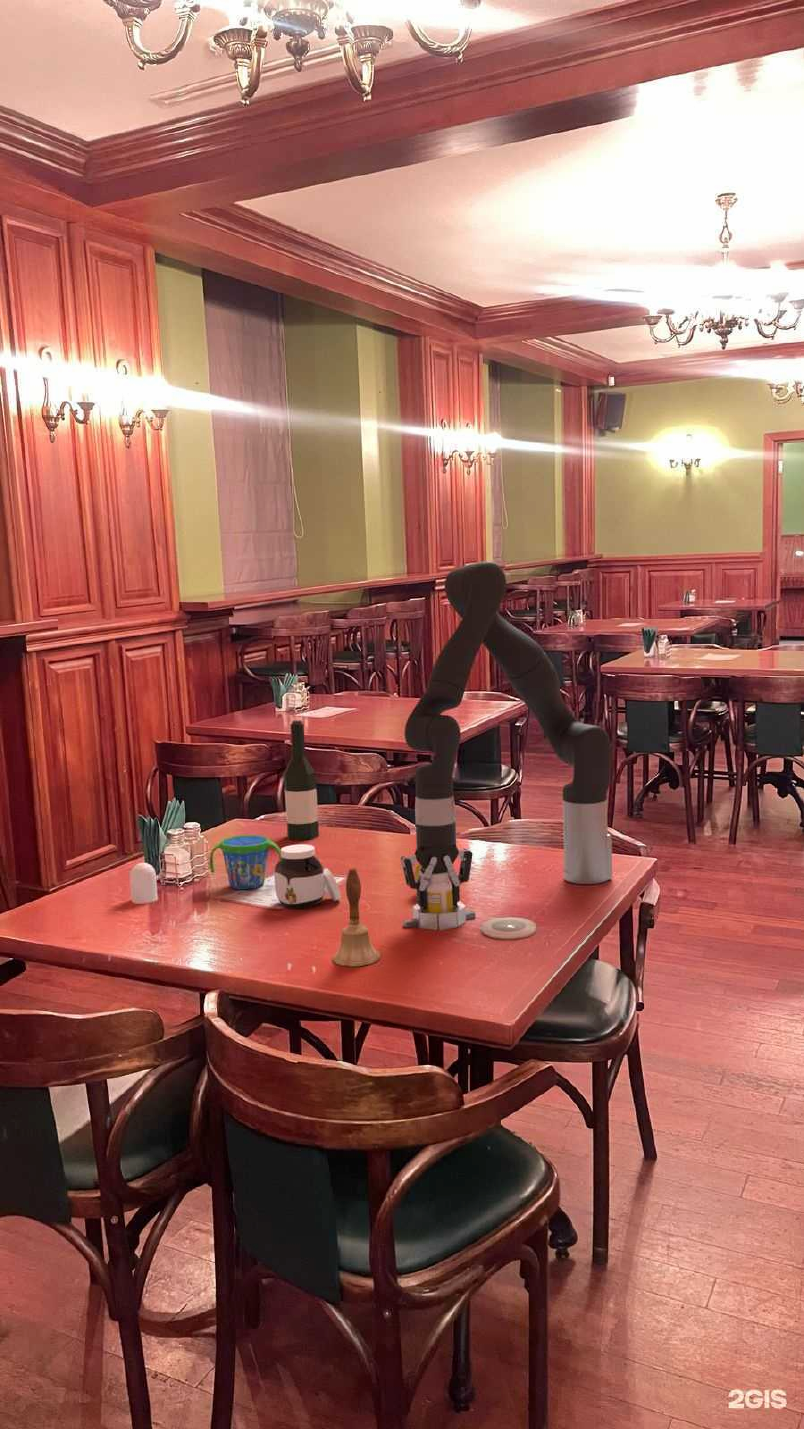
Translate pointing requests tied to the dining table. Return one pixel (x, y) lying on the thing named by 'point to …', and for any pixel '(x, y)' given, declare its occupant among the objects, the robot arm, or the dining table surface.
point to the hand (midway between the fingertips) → (438, 906)
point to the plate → (508, 928)
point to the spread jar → (302, 878)
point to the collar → (439, 918)
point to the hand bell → (355, 931)
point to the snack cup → (245, 859)
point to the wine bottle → (300, 790)
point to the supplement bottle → (439, 893)
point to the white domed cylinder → (143, 884)
